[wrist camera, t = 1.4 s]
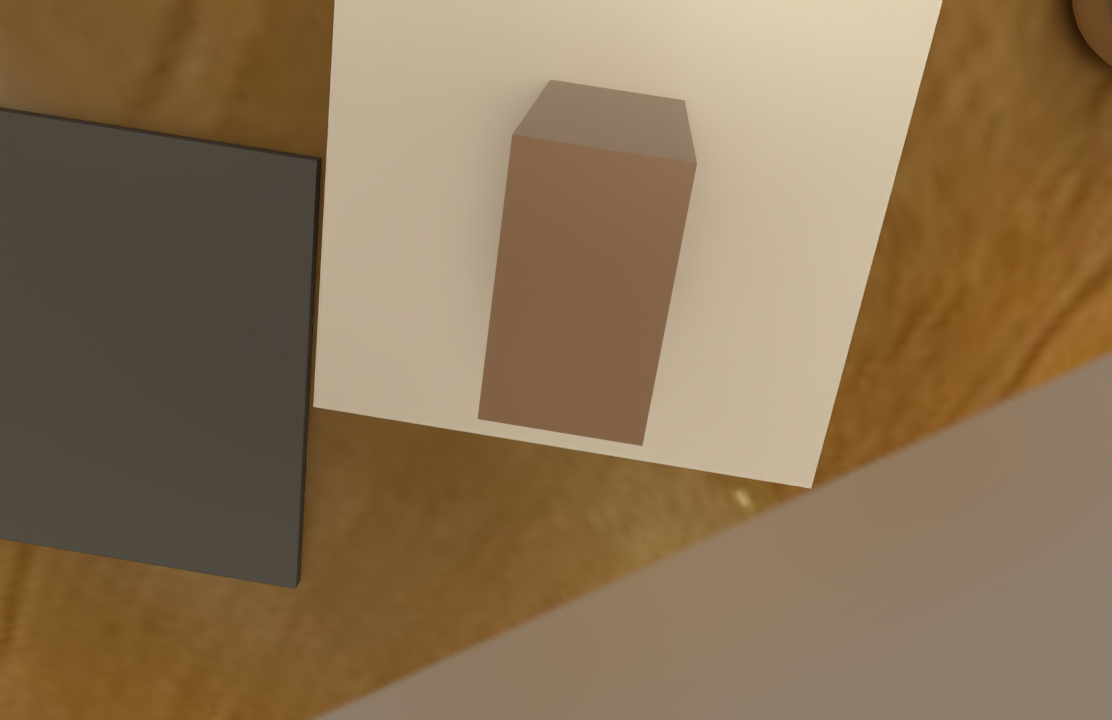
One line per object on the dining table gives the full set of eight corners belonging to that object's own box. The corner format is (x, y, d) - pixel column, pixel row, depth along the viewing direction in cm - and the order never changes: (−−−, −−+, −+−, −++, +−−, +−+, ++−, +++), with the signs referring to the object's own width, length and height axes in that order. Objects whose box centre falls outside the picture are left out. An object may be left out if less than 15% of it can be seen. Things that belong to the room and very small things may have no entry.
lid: (334, 377, 33) (207, 554, 24) (365, -139, 27) (214, -178, 18) (801, 453, 33) (861, 663, 23) (933, -54, 27) (1086, -48, 17)
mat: (-117, 511, 44) (-126, 517, 43) (-175, 79, 37) (-185, 81, 36) (299, 581, 43) (296, 588, 43) (320, 157, 37) (316, 161, 36)
